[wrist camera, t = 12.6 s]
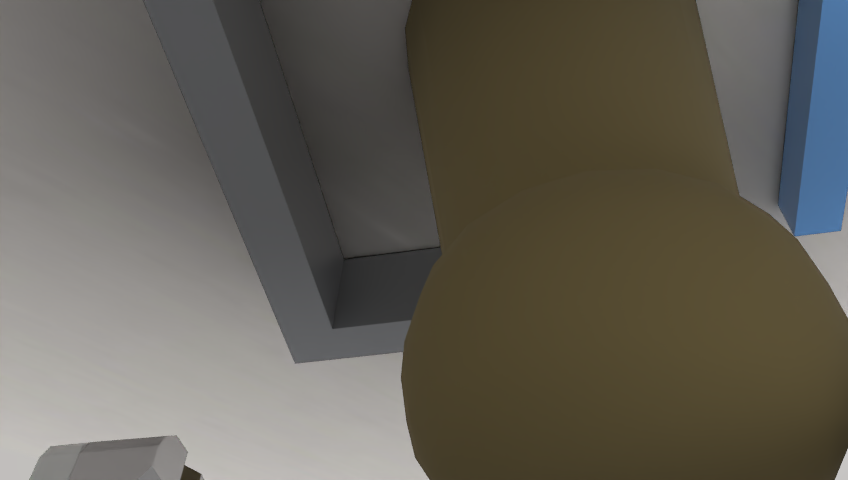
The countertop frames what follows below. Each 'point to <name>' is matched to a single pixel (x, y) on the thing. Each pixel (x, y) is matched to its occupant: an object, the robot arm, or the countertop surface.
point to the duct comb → (408, 271)
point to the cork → (604, 261)
